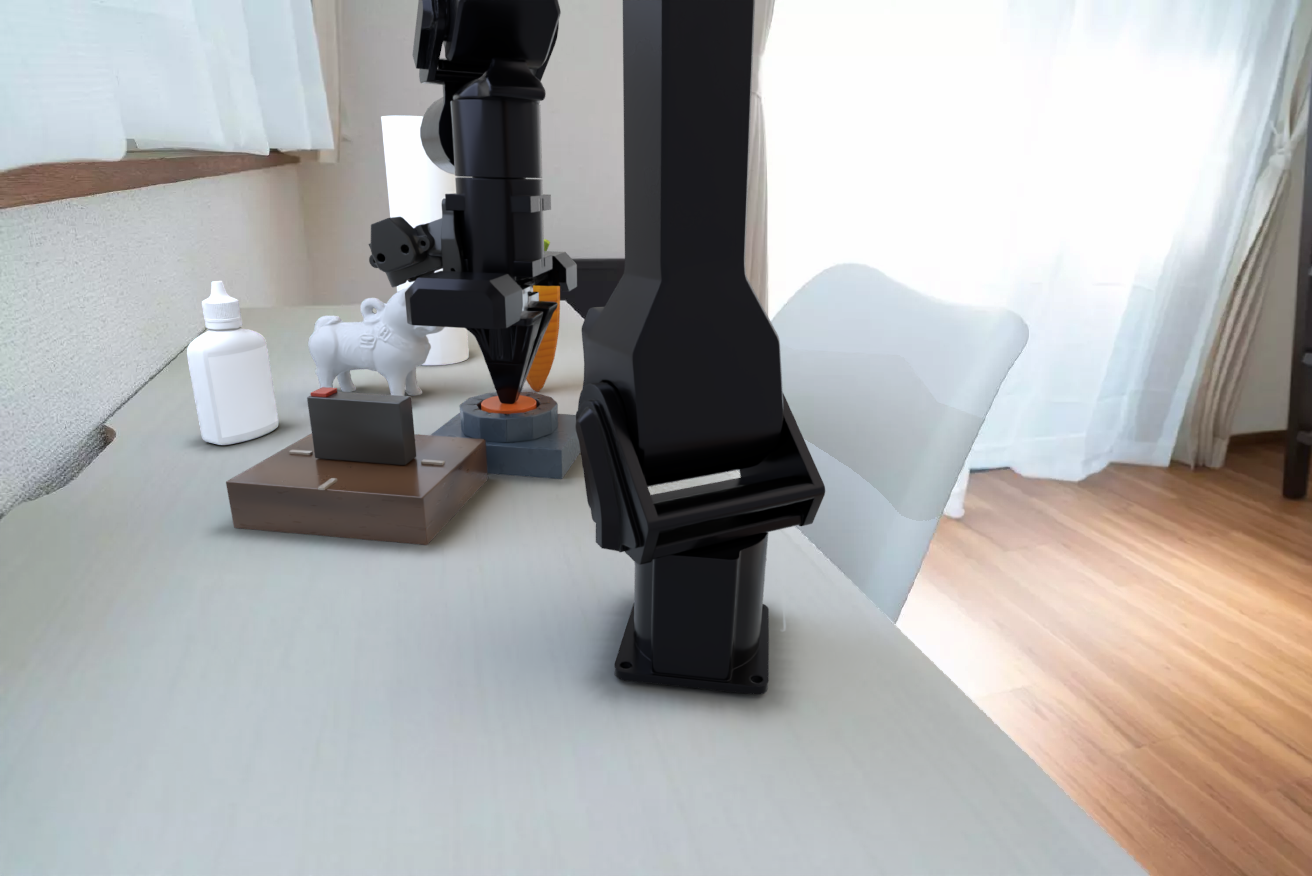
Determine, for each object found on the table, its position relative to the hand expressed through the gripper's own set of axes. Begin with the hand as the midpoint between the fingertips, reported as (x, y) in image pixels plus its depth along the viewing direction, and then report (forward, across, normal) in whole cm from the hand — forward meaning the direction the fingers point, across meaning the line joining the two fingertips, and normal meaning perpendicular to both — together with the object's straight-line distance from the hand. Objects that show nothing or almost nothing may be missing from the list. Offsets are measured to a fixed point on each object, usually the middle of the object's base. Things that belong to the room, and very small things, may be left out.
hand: (508, 402), depth 56 cm
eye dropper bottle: (+4, 0, -22) cm, 22 cm away
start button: (+2, 0, 0) cm, 2 cm away
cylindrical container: (+4, -28, -18) cm, 34 cm away
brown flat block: (+4, +10, -6) cm, 12 cm away
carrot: (+4, -17, -3) cm, 18 cm away
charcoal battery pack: (+1, +10, -6) cm, 12 cm away
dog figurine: (+4, -12, -16) cm, 20 cm away
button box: (+4, 0, 0) cm, 4 cm away
